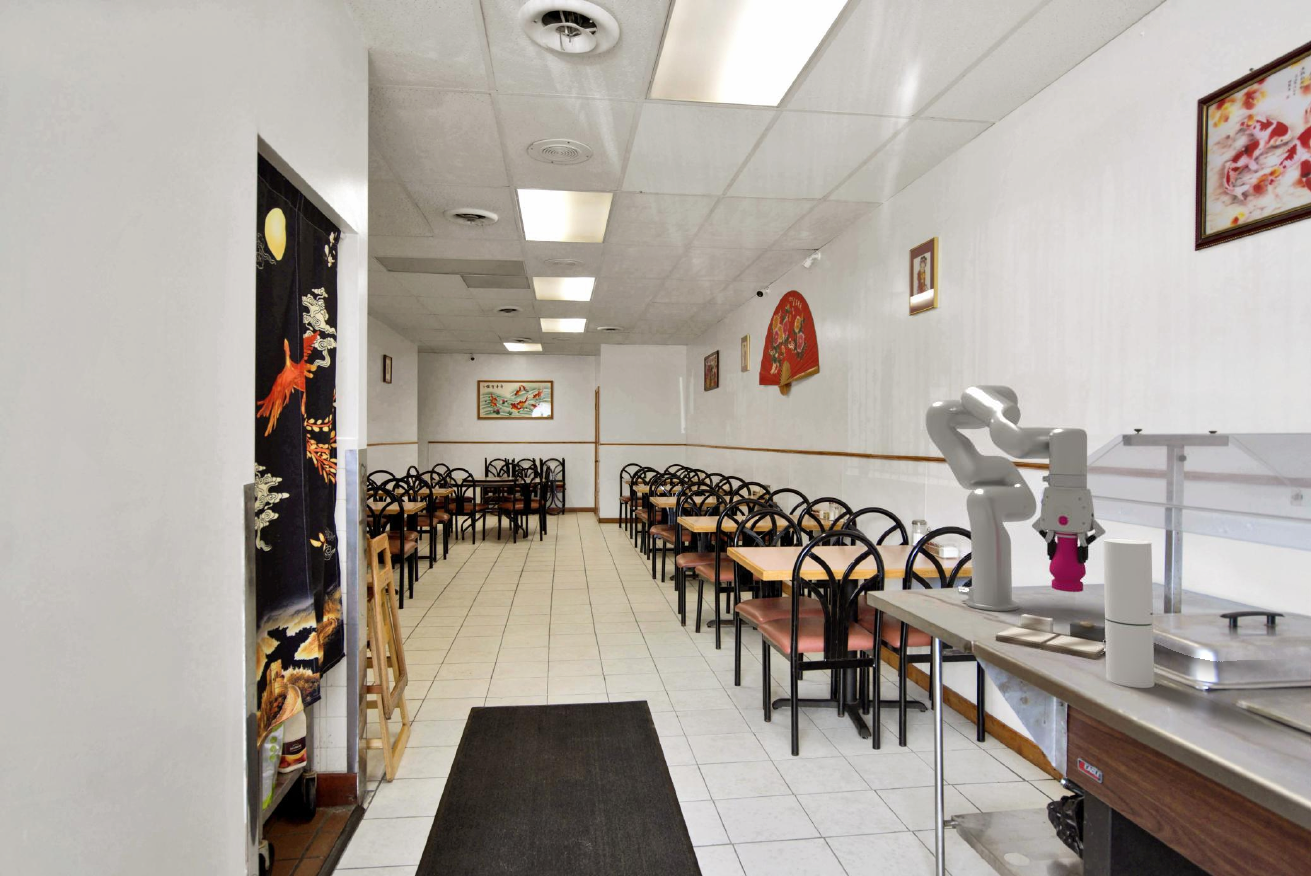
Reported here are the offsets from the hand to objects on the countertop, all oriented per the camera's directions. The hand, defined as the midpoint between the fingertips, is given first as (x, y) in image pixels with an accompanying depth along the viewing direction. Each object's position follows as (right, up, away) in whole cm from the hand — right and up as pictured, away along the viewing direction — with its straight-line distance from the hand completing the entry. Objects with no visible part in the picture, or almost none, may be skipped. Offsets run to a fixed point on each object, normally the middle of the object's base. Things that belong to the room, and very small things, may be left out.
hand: (1067, 560), depth 160 cm
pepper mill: (0, -7, 0) cm, 7 cm away
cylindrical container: (-10, -16, -35) cm, 40 cm away
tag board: (-10, -16, -11) cm, 22 cm away
